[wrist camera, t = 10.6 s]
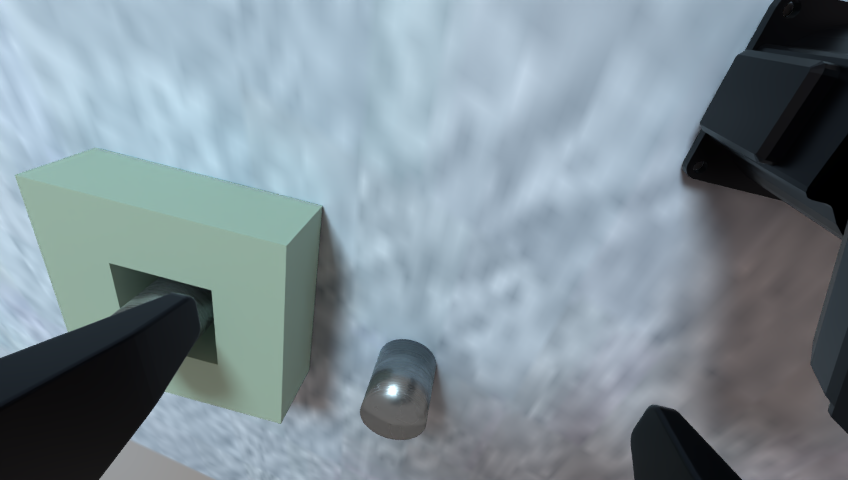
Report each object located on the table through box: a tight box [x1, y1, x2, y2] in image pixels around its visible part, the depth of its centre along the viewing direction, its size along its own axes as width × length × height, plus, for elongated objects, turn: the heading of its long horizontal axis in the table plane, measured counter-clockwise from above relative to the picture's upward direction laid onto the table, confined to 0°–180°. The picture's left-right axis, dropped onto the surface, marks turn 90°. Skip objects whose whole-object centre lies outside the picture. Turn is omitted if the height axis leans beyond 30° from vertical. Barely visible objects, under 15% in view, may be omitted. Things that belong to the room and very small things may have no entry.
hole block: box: [15, 148, 322, 424], centre depth 22 cm, size 12×12×4 cm
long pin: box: [111, 277, 214, 343], centre depth 20 cm, size 4×4×8 cm
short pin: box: [360, 339, 436, 440], centre depth 23 cm, size 4×4×4 cm
